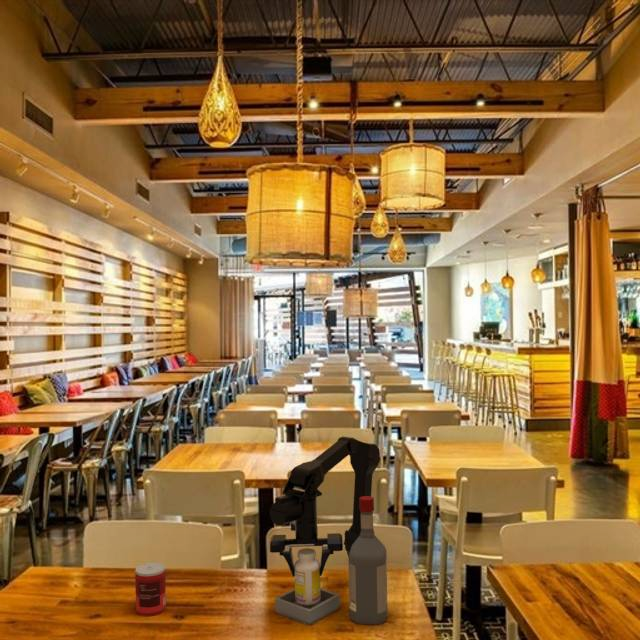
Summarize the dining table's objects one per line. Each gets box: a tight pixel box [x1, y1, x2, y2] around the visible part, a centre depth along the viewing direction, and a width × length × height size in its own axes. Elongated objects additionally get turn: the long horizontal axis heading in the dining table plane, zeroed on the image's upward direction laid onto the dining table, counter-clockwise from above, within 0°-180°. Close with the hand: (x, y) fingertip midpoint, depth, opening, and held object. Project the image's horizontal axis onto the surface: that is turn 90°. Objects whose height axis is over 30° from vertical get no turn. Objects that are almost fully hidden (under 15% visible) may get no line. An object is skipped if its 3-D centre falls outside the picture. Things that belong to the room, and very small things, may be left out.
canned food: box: [134, 562, 167, 617], centre depth 166 cm, size 8×8×11 cm
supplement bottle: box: [294, 547, 322, 605], centre depth 164 cm, size 7×7×13 cm
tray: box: [274, 588, 341, 626], centre depth 164 cm, size 12×12×4 cm
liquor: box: [347, 495, 389, 626], centre depth 160 cm, size 9×9×30 cm
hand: (307, 575), depth 164 cm, fingers closed on supplement bottle, 7 cm apart
